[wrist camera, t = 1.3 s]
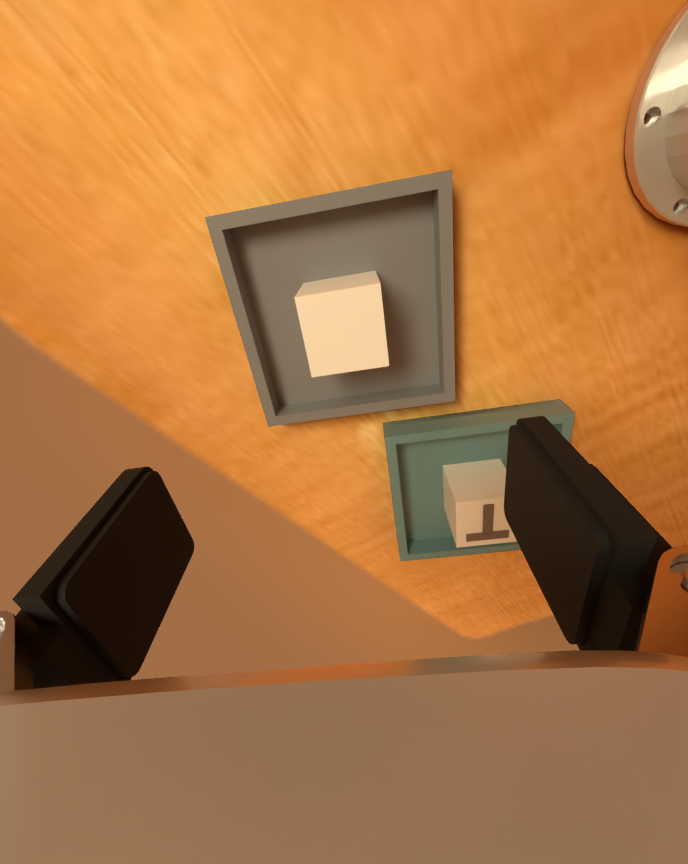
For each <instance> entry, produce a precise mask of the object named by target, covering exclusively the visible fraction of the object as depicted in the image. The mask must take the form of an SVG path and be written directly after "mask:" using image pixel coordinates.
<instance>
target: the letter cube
mask: <svg viewBox="0 0 688 864" xmlns="http://www.w3.org/2000/svg"><path fill="white" fill-rule="evenodd" d="M505 480H506V468H505V466H504V465H503V463H502V461H501V460H500V459H492V460H483V461H475V462H467V463H458V464H450V465H443V492H444V509H445V512H446V515H447V518H448V522H449V525H450V528H451V531H452V534H453V538H454V541H455V544H456V547H457V548H458V547H468V546H478V545H488V544H498V543H508V542H517V540H516V538H515V536H514V534H513V532H512V530H511V528H510V526H509V524H508V522H507V520H506V517H505V513H504V494H505Z"/></svg>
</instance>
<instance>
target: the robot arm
mask: <svg viewBox="0 0 688 864" xmlns="http://www.w3.org/2000/svg"><path fill="white" fill-rule="evenodd" d="M644 117H645V118H646V120H645V122H644ZM625 160H626V167H627V175H628V178H629V181H630V183H631V186H632V189H633V191H634V194H635V195H636V197H637V198H638V199H639V201H640V202H641V204H642V205H643V207H644V208H645V209H646V210H648V211H649V212H650V213H651V214H653V215H654V216H655V217H656V218H658V219H660V220H662V221H665V222H667V223H669V224H672V225H677V226H684V227H688V2H687V3H686V4H685V5H684V7H683V8H682V9H681V10H680V11H679V12H678V14H677V15H676V16H675V18H674V19H673V21H672V22H671V24H670V25H669V27H668V28H667V30H666V31H665V33H664V34H663V36H662V37H661V39H660V40H659V42H658V43H657V45H656V47H655V49H654V51H653V53H652V55H651V57H650V58H649V60H648V62H647V64H646V66H645V68H644V70H643V72H642V74H641V77H640V80H639V83H638V86H637V88H636V91H635V94H634V97H633V100H632V103H631V107H630V112H629V117H628V122H627V126H626V137H625ZM504 513H505V517H506V520H507V522H508V524H509V526H510V528H511V530H512V532H513V534H514V536H515V538H516V540H517V542H518V544H519V546H520V548H521V550H522V552H523V554H524V556H525V558H526V560H527V562H528V564H529V566H530V568H531V570H532V572H533V574H534V576H535V578H536V580H537V582H538V584H539V586H540V588H541V590H542V592H543V594H544V596H545V598H546V600H547V602H548V604H549V606H550V608H551V610H552V612H553V614H554V616H555V618H556V620H557V622H558V624H559V626H560V628H561V630H562V632H563V634H564V636H565V638H566V640H567V641H568V642H569V643H570V644H577V645H578V647H579V649H580V651H558V652H557V651H556V652H537V653H536V652H535V653H517V654H516V653H515V654H496V655H477V656H462V657H448V658H432V659H417V660H402V661H387V662H373V663H357V664H343V665H330V666H316V667H302V668H287V669H274V670H260V671H246V672H232V673H219V674H206V675H192V676H180V677H167V678H154V679H141V680H131V678H132V677H133V676H134V675H136V673H138V671H139V669H140V667H141V665H142V663H143V661H144V659H145V657H146V654H147V652H148V650H149V648H150V646H151V644H152V641H153V639H154V637H155V635H156V633H157V631H158V628H159V626H160V624H161V622H162V620H163V617H164V615H165V613H166V611H167V609H168V606H169V604H170V602H171V600H172V598H173V596H174V594H175V591H176V589H177V587H178V585H179V583H180V580H181V578H182V576H183V574H184V572H185V570H186V567H187V565H188V563H189V561H190V559H191V556H192V554H193V551H194V542H193V539H192V537H191V535H190V533H189V531H188V529H187V527H186V525H185V523H184V521H183V519H182V518H181V516H180V514H179V512H178V510H177V508H176V506H175V504H174V502H173V500H172V498H171V496H170V494H169V492H168V490H167V488H166V486H165V484H164V482H163V480H162V478H161V476H160V475H159V473H158V472H156V471H153V470H152V469H151V468H150V467H141V468H133V469H128V470H125V471H123V472H122V473H121V475H120V476H119V477H118V478H117V479H116V480H115V482H114V483H113V484H112V485H111V486H110V487H109V488H108V490H107V491H106V492H105V493H104V494H103V495H102V497H101V498H100V499H99V500H98V501H97V502H96V503H95V505H94V506H93V507H92V508H91V509H90V511H89V512H88V513H87V514H86V515H85V516H84V517H83V518H82V520H81V521H80V522H79V523H78V524H77V525H76V527H75V528H74V529H73V530H72V531H71V532H70V533H69V535H68V536H67V537H66V538H65V539H64V540H63V542H62V543H61V544H60V545H59V546H58V547H57V548H56V550H55V551H54V552H53V553H52V554H51V555H50V557H49V558H48V559H47V560H46V561H45V562H44V563H43V565H42V566H41V567H40V568H39V569H38V570H37V571H36V573H35V574H34V575H33V576H32V578H30V580H29V581H28V582H27V583H26V584H25V585H24V586H23V588H22V589H21V590H20V591H19V592H18V593H17V595H16V596H15V597H14V598H13V600H14V601H15V603H17V605H18V606H19V607H20V608H21V610H20V611H19V613H18V614H17V615H16V616H15V615H13V614H12V613H11V612H9V611H0V864H688V546H680V547H674V548H672V547H671V546H670V545H669V544H668V543H667V542H666V541H665V539H664V538H663V537H662V536H661V535H660V534H659V533H658V532H657V531H656V530H655V529H654V528H653V527H652V526H651V525H650V524H649V523H648V522H647V521H646V519H645V518H644V517H643V516H642V515H641V514H640V513H639V512H638V511H637V510H636V509H635V508H634V507H633V506H632V505H631V504H630V503H629V502H628V500H627V499H626V498H625V497H624V496H623V495H622V494H621V493H620V492H619V491H618V490H617V489H616V488H615V487H614V486H613V485H612V484H611V483H610V482H609V480H608V479H607V478H606V477H605V476H604V475H603V474H602V473H601V472H600V471H599V470H598V469H597V468H596V467H595V466H593V465H592V464H589V463H588V462H587V461H586V460H585V459H584V458H583V457H582V456H581V455H580V454H579V452H578V451H577V450H576V449H575V448H574V447H573V446H572V445H571V444H570V443H569V442H568V441H567V440H566V439H565V437H564V436H563V435H562V434H561V433H560V432H559V431H558V430H557V429H556V428H555V427H554V426H553V425H552V424H551V422H550V421H549V420H548V419H547V418H546V417H544V416H536V417H528V418H520V419H518V420H517V422H516V425H511V426H510V428H509V436H508V450H507V465H506V480H505V494H504Z"/></svg>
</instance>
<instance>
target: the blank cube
mask: <svg viewBox="0 0 688 864" xmlns="http://www.w3.org/2000/svg"><path fill="white" fill-rule="evenodd" d="M294 299H295V303H296V308H297V312H298V317H299V322H300V326H301V331H302V335H303V340H304V344H305V349H306V353H307V358H308V363H309V367H310V372H311V376H312V377H318V376H325V375H332V374H339V373H346V372H352V371H359V370H366V369H373V368H380V367H386V366H389V359H388V349H387V340H386V331H385V321H384V312H383V302H382V293H381V284H380V281H379V278H378V276H377V273H376V271H370V272H365V273H359V274H353V275H347V276H341V277H335V278H330V279H324V280H318V281H312V282H306V283H303V285H302V286H301V288H300V289H299V291H298V292H297V294H296V296H295V297H294Z"/></svg>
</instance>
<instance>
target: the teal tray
mask: <svg viewBox="0 0 688 864" xmlns="http://www.w3.org/2000/svg"><path fill="white" fill-rule="evenodd" d="M536 416H544V417H546V418H547V419H548V420H549V421H550V422H551V424H552V425H553V426H554V427H555V428H556V429H557V430H558V431H559V432H560V433H561V434H562V435H563V436H564V437H565V439H566V440H567V441H568V442H569V443H570V441H571V435H572V429H573V423H574V417H575V412H574V411H572V410H571V409H570V408H569V407H568V406H567V405H566V404H565V403H564V402H563V401H561V400H560V399H559V400H551V401H544V402H536V403H529V404H521V405H514V406H506V407H499V408H491V409H484V410H476V411H469V412H461V413H454V414H446V415H439V416H431V417H423V418H416V419H408V420H401V421H393V422H386V423H383V429H384V437H385V445H386V453H387V461H388V469H389V477H390V485H391V493H392V501H393V508H394V516H395V524H396V532H397V540H398V548H399V555H400V561H409V560H419V559H430V558H440V557H450V556H460V555H471V554H481V553H491V552H501V551H512V550H521V548H520V546H519V544H518V542H508V543H498V544H488V545H478V546H468V547H458V548H457V547H456V544H455V541H454V538H453V534H452V531H451V528H450V525H449V522H448V518H447V515H446V512H445V509H444V492H443V465H450V464H458V463H467V462H475V461H483V460H492V459H500V460H501V461H502V463H503V465H504V466H505V468H506V465H507V450H508V436H509V428H510V426H511V425H516V422H517V420H518V419H520V418H528V417H536Z"/></svg>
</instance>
